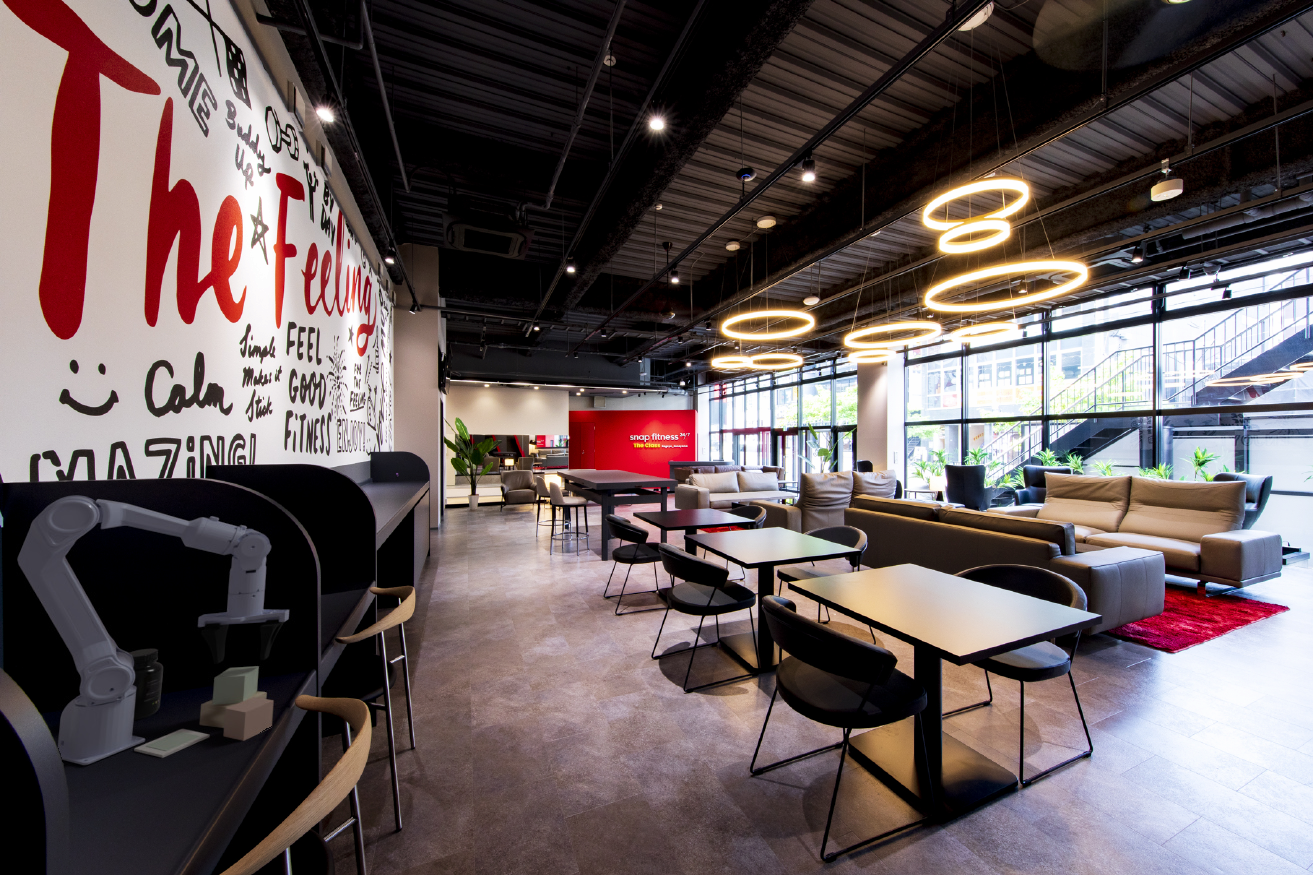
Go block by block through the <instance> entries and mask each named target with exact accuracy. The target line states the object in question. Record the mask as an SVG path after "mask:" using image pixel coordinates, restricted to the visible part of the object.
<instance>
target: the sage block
mask: <svg viewBox="0 0 1313 875" xmlns="http://www.w3.org/2000/svg"><path fill="white" fill-rule="evenodd" d="M259 667H260V666H258V665H257V666H256V665H255V666H243V667H229V668H227V669H226V670H225V671H222V673H219V674H218V675H217V676H215V677H214V679H213V680H214V682H213V694H212V700H213V703H212V705H219V704H232V703H240V702H242V701H245V700H247V699H248V698H249V697H251V696H252V695H253V694H254V693H256V692H257V691H258V683H259V682H258V679H259V669H260V668H259Z"/></svg>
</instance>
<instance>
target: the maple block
mask: <svg viewBox="0 0 1313 875" xmlns="http://www.w3.org/2000/svg"><path fill="white" fill-rule="evenodd" d="M252 697H258V698H263V699H267V692H265V691H259V690H257V692H256V693H254V694H253V695H252V696H251V697H249V698H248V699H250V698H252ZM212 703H213V699H210V700H209V701H206V702H204V703H201V704H200V715H199V725H200V726H207V727H214V728H222V729H224V722H225V709H226V708H228V707H230V706H233V705H235V704H238V703H232V704H219V705H212Z"/></svg>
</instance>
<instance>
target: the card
mask: <svg viewBox="0 0 1313 875" xmlns="http://www.w3.org/2000/svg"><path fill="white" fill-rule="evenodd" d="M208 738H210V734H207V733H203V732H199V731H195V730H191V729H185V728H181V729H178V730H176V731H173V732H171V733H168V734H167V735H163V736H161V737H159V738H155V739H154V740H150V741H149V742H146V743H145V744H142V745H140V746H136V747H134V752H136V753H137V752H138V753H142V754H145V755H151V756H153V757H154V756H155V757H158V758H161V759H163V758H165V757H168V756H170V755H172V754H175V753H176V752H179V751H181V750H183V749H186V748H187V747H191V746H192V745H194V744H196V743H199V742H202V741H204V740H206V739H208Z"/></svg>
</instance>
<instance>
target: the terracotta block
mask: <svg viewBox="0 0 1313 875" xmlns="http://www.w3.org/2000/svg"><path fill="white" fill-rule="evenodd" d="M273 714H274V700H273V699H267V698H266V699H263V698H258V697H252V698H250V699H247V700H245V701H242V702H240V703H238V704H235V705H233V706H230V707H228V708H226V709H225V722H224V728H223V737H225V738H230V739H234V740H239V741H244V742H245V741H246V740H249V739H250V738H252V737H254V736H256V735H258V734H261V733H263V732H264V731H263V730H265V729H266V728H269V727H271V726H272V727H273ZM272 727H271V728H272ZM269 729H270V728H269ZM262 731H263V732H262ZM265 731H266V730H265ZM260 732H261V733H260Z"/></svg>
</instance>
